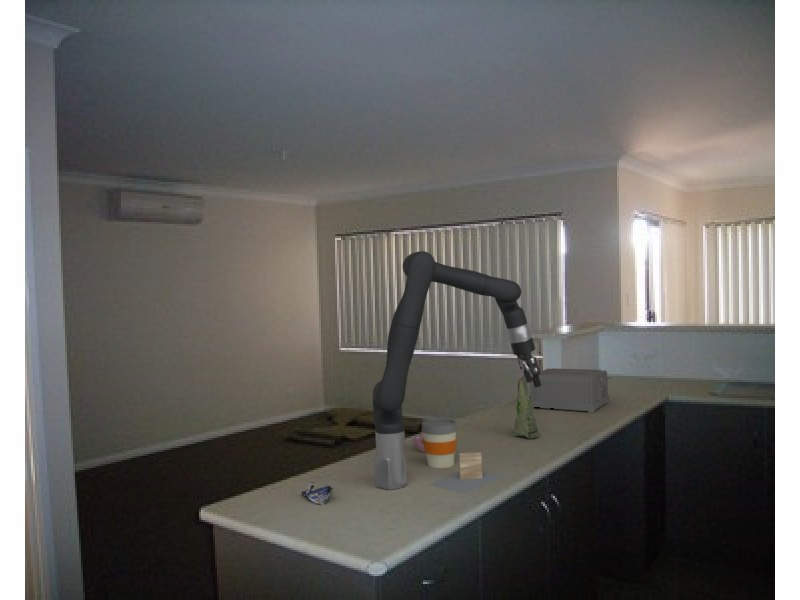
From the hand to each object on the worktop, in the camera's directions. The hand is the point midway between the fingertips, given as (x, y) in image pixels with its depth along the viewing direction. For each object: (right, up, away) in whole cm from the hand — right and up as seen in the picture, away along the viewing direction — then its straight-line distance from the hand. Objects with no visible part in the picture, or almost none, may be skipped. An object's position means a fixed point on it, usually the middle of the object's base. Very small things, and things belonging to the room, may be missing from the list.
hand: (533, 384), depth 203 cm
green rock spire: (+7, -28, +45) cm, 53 cm away
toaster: (+44, -26, +106) cm, 117 cm away
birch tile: (-22, -29, -9) cm, 37 cm away
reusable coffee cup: (-31, -30, +9) cm, 44 cm away
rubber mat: (-24, -29, -11) cm, 39 cm away
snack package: (-70, -32, -21) cm, 79 cm away
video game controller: (-35, -30, +32) cm, 56 cm away
